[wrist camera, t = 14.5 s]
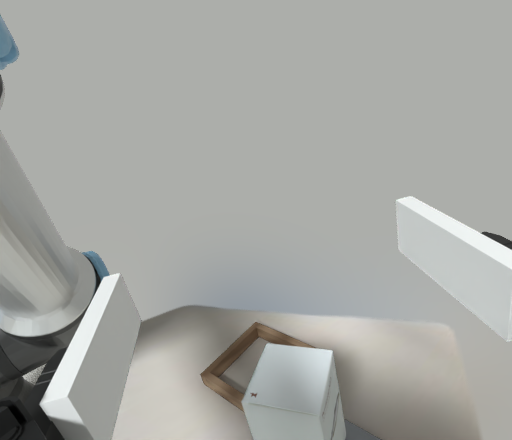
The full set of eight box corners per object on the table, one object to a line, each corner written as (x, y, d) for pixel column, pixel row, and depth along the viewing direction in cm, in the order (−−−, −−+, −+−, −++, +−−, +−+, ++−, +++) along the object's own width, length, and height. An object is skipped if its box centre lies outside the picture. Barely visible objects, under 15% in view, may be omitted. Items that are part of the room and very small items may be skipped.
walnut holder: (204, 384, 51) (200, 374, 50) (258, 330, 59) (255, 321, 58) (267, 428, 42) (264, 417, 42) (320, 359, 50) (318, 349, 50)
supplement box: (338, 508, 32) (320, 418, 27) (266, 486, 35) (237, 401, 30) (348, 433, 38) (334, 348, 33) (286, 419, 41) (264, 340, 36)
